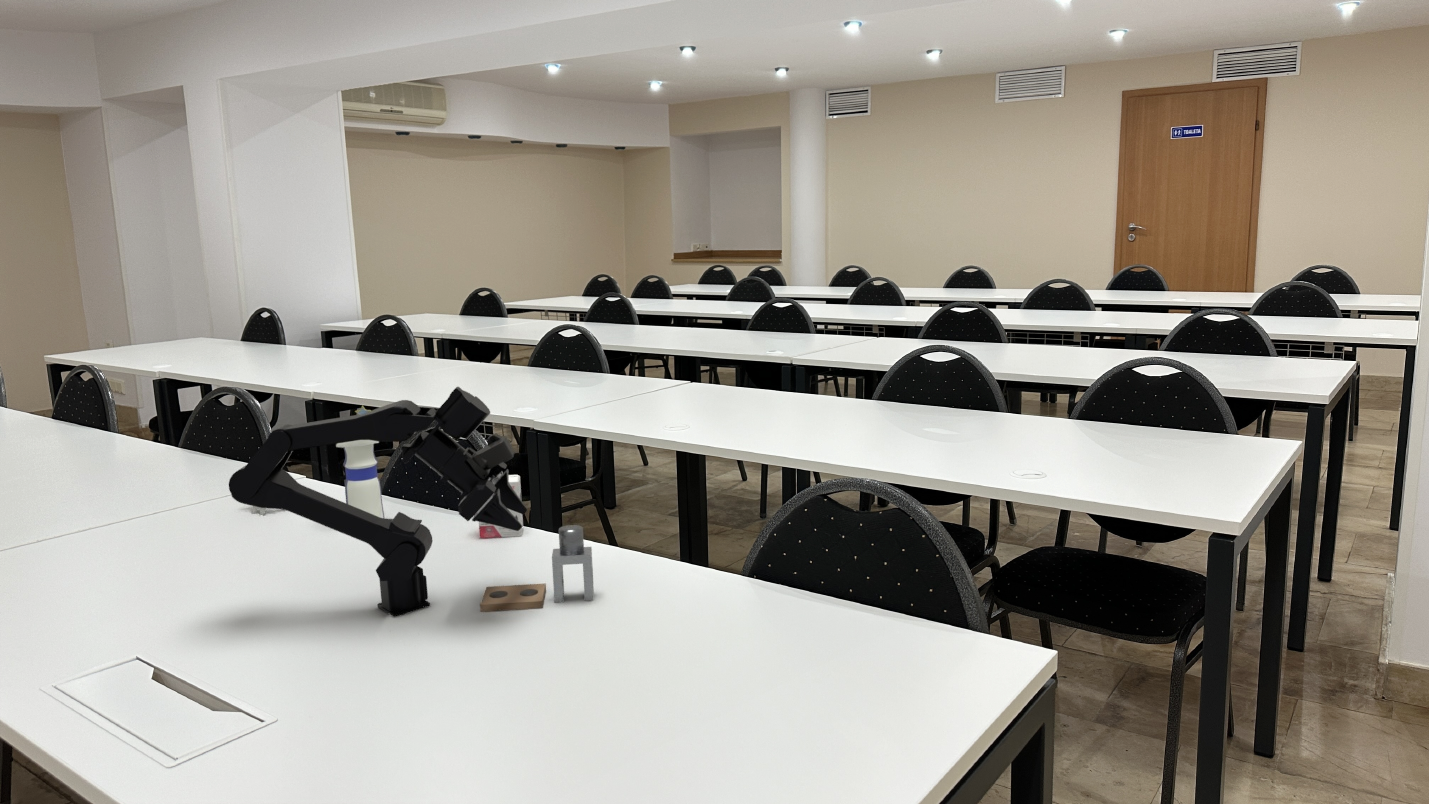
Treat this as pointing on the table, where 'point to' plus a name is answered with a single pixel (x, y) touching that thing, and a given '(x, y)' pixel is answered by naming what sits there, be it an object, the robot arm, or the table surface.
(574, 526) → the dividers
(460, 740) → the table surface
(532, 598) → the bolt plate
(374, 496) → the water bottle
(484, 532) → the ink box
